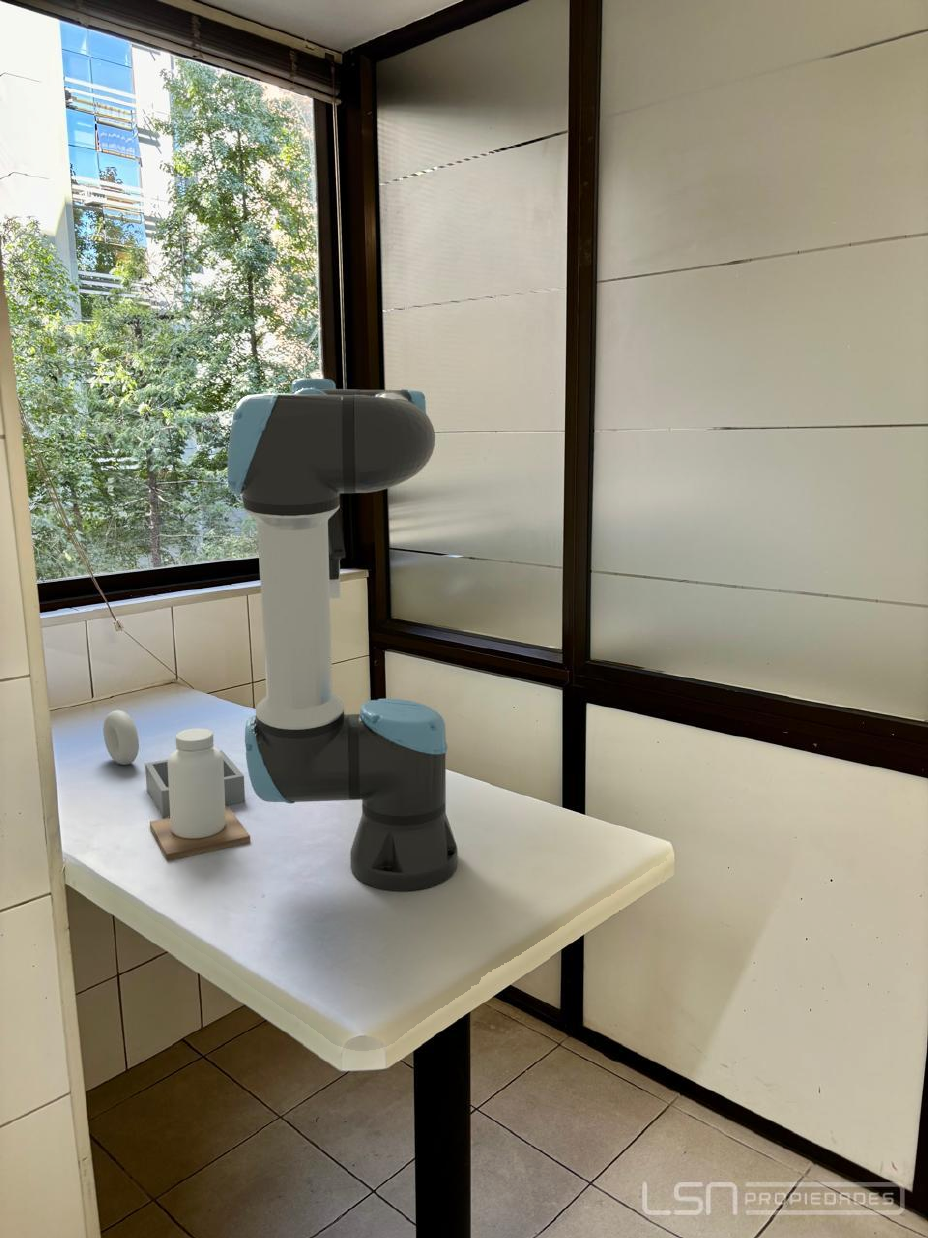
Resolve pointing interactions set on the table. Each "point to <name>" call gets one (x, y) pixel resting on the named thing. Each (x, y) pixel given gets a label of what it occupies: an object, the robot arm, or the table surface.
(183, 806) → the pill bottle
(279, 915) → the table surface
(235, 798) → the sleeve
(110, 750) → the donut
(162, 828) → the pad
